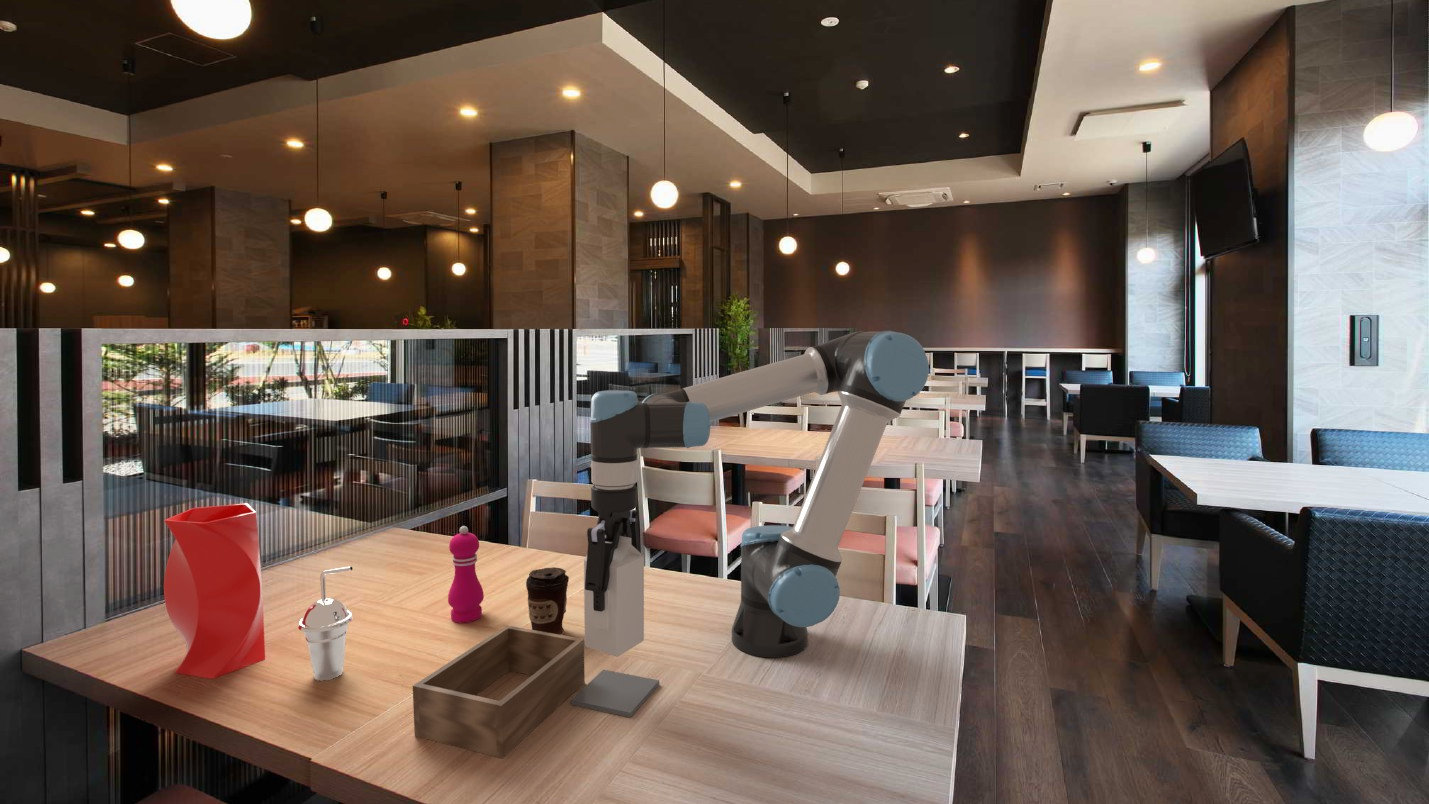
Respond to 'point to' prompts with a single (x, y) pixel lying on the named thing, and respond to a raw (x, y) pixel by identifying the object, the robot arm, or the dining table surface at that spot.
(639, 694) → the coaster
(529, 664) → the crate
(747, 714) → the dining table surface
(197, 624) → the vase
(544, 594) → the coffee cup
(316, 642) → the cup with straw
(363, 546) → the dining table surface
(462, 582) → the pepper mill
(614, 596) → the milk carton
